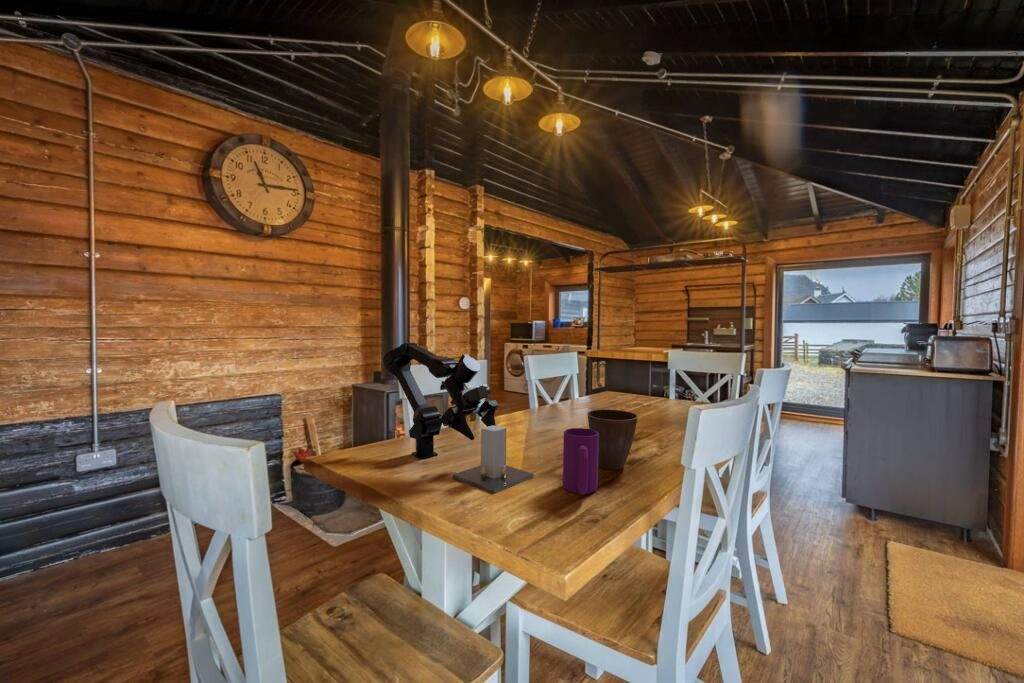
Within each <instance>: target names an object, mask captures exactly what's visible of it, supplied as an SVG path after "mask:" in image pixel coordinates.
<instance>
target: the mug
mask: <svg viewBox="0 0 1024 683" xmlns="http://www.w3.org/2000/svg"><path fill="white" fill-rule="evenodd" d="M562 450H563V453H562V456H563V457H562V487H563V488H564V489H565V490H566V491H568V492H570V493H573V494H579V495H587V494H592V493H593V492H597V489H598V485H599V464H598V455H599V433H598V432H597V431H595V430H591V429H589V428H583V427H573V428H568V429H565V430H564V431H563V448H562Z"/></svg>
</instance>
